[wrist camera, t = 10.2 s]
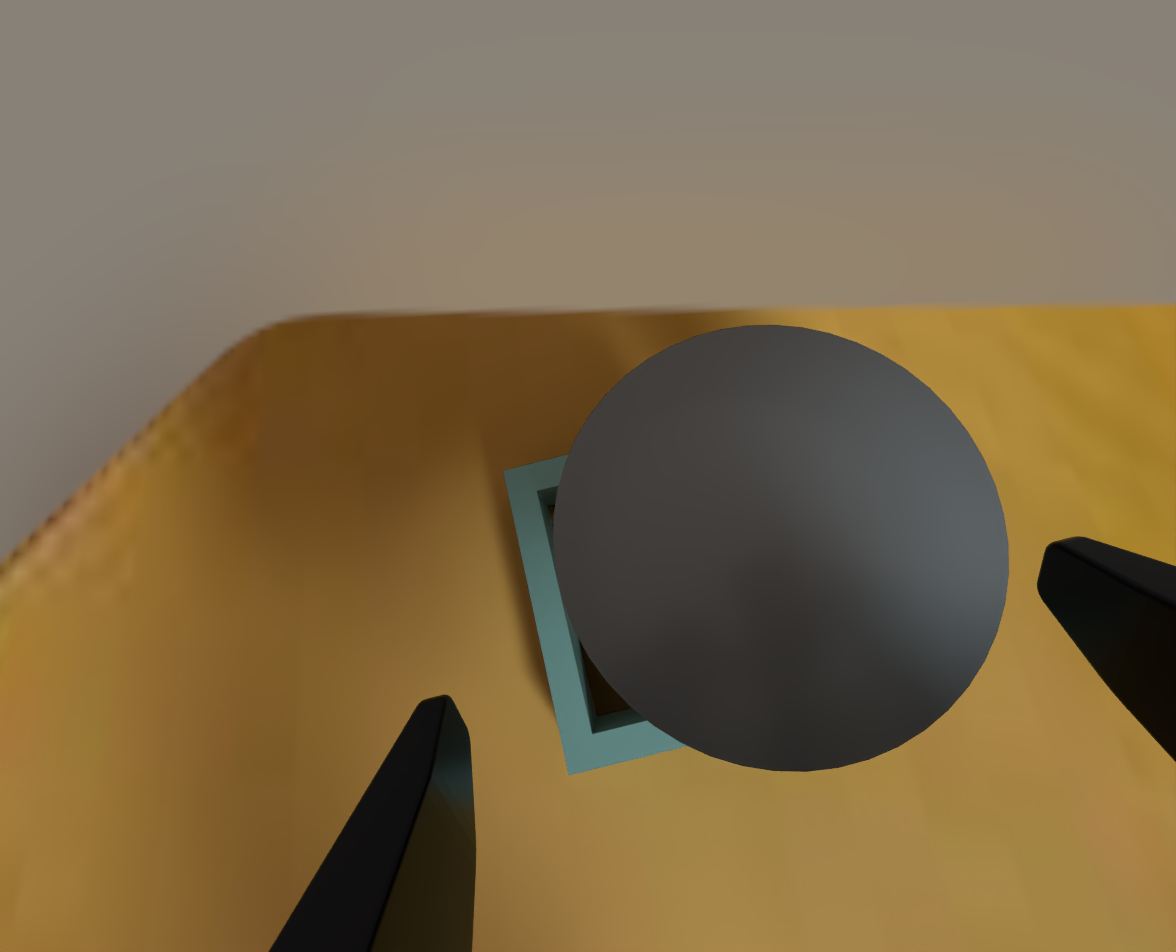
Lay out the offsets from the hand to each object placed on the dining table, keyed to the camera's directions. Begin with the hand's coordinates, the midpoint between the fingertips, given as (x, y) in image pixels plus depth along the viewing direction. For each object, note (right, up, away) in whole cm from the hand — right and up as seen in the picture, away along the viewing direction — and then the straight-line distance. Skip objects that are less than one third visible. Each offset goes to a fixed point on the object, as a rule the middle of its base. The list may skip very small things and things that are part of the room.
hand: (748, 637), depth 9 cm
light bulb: (0, -1, +9) cm, 10 cm away
